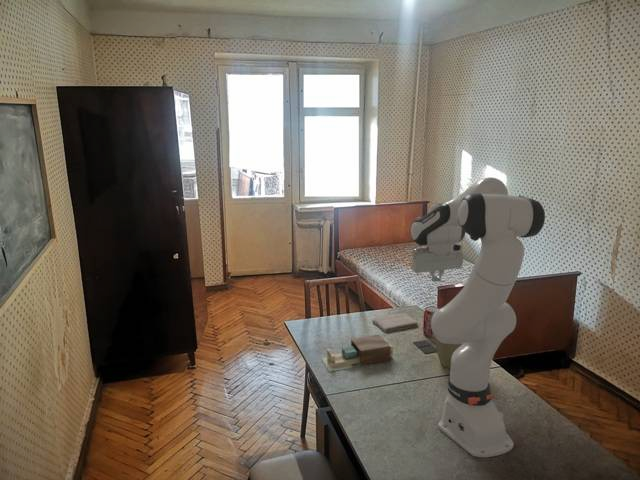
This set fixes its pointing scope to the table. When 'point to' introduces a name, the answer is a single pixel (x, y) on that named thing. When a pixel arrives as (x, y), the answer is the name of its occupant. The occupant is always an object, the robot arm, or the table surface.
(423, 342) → the plate
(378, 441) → the table surface
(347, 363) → the board
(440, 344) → the plant pot
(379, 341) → the tunnel
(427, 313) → the soda can
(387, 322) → the washcloth
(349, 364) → the pad
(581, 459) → the table surface
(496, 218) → the robot arm
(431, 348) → the pit pad
